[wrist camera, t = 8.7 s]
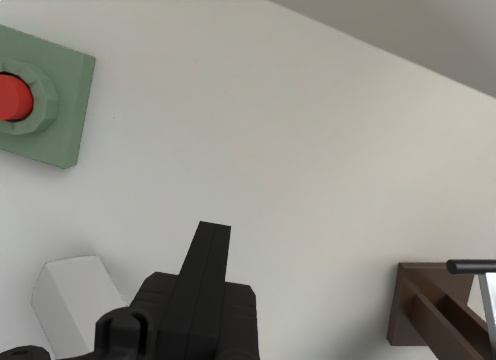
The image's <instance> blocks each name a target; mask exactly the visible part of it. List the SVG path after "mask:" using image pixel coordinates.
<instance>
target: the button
mask: <svg viewBox="0 0 496 360" xmlns="http://www.w3.org/2000/svg"><path fill="white" fill-rule="evenodd" d="M32 107H33V96H32V93H31V91H30V89H29V88H28V86H27V85H26V84H25V83H24V82H23V81H21V80H20V79H18V78H16V77H14V76H9V75H2V74H0V120H11V119H21V118H24V117H26V116H27V115H28V114H29V113H30V112H31V110H32Z"/></svg>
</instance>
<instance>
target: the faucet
mask: <svg viewBox="0 0 496 360" xmlns="http://www.w3.org/2000/svg"><path fill="white" fill-rule="evenodd" d="M31 305H32V307H33V309H34V311H35V314H36V316H37V318H38V320H39V322H40V324H41V326H42V328H43V331H44V333H45V335H46V337H47V339H48V341H49V343H50V346H51V348H52V350H53V352H54V354H55V356H56V358H57V359H64V358H71V357H77V356H81V355H85V354H87V353H90V352H92V351H94V339H95V323H96V322H97V321H98V320H99V319H100V318H101V317H102V316H103V315H104V314H106V313H108V312H109V311H111V310H113V309H117V308H121V307H127V306H126V304H125V302H124V300H123V299H122V297H121V295H120V293H119V291H118V290H117V288H116V286H115V284H114V282H113V280H112V279H111V277H110V275H109V273H108V271H107V270H106V268H105V266H104V264H103V262H102V261H101V259H100V257H99V256H83V257H75V258H68V259H63V260H58V261H54V262H50V263H46V264H45V265H44V267H43V269H42V271H41V272H40V274H39V276H38V279H37V281H36V283H35V286H34V289H33V293H32V297H31Z"/></svg>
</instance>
